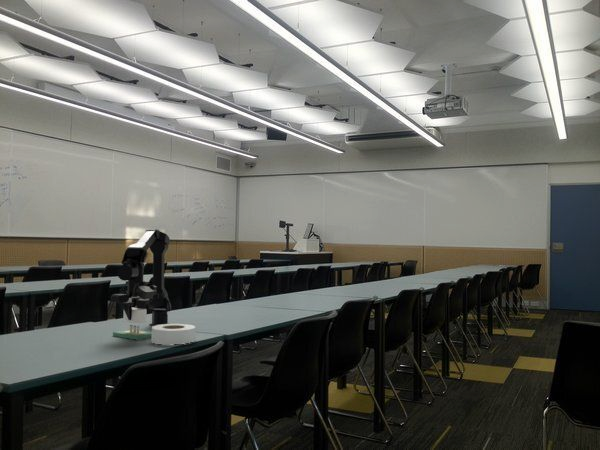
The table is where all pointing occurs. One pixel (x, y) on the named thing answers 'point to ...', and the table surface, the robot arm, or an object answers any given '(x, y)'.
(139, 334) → the header board
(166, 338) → the roll of tape
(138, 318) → the block
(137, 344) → the table surface
